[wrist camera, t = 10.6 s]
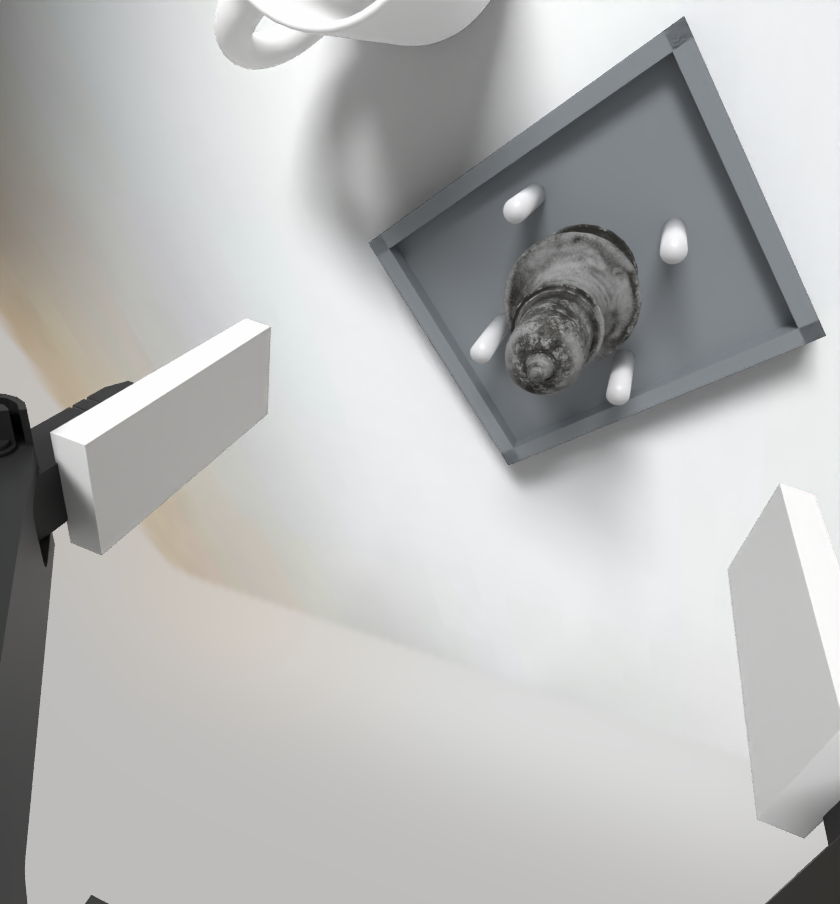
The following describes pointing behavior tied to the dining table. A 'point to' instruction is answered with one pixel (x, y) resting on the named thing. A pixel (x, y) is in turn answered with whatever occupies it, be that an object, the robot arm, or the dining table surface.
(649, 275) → the tray
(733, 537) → the dining table surface
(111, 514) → the robot arm
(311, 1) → the mug
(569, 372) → the dark grey tall piece
